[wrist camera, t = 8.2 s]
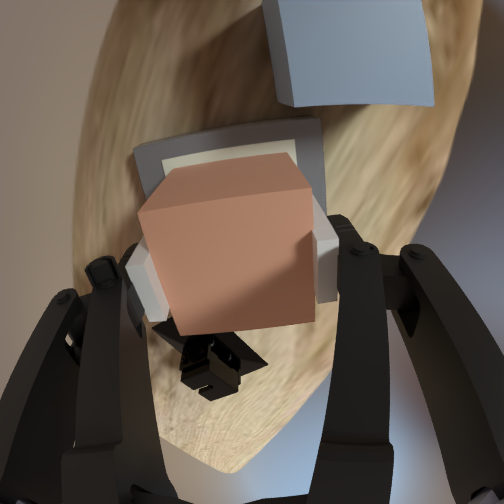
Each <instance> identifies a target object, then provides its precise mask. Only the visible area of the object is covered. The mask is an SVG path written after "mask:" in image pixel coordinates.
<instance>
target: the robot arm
mask: <svg viewBox="0 0 504 504" xmlns="http://www.w3.org/2000/svg"><path fill="white" fill-rule="evenodd" d="M312 198H313V221H314V230H312V242H313V270H314V292H315V295H316V299H317V302H318V304H320V303H326V302H333V301H337V293H338V292H339V294H340V299H339V312H338V323H337V333H336V343H335V351H334V360H333V368H332V375H331V383H330V389H329V396H328V403H327V409H326V415H325V421H324V426H323V431H322V437H321V441H320V446H319V450H318V455H317V459H316V464H315V468H314V473H313V477H312V481H311V486H310V490H309V493H308V494H305V495H297V496H288V497H278V498H265V499H260V500H256V501H253V502H249V503H245V504H389V501H390V494H391V486H392V476H393V464H394V450H393V446H392V444H391V443H390V442H389V417H390V369H389V368H390V367H389V342H388V327H387V315H386V310H391V312H392V314H393V317H394V319H395V322H396V324H397V326H398V329H399V331H400V333H401V336H402V338H403V341H404V343H405V346H406V348H407V351H408V353H409V356H410V358H411V361H412V363H413V366H414V369H415V372H416V374H417V377H418V380H419V383H420V386H421V389H422V391H423V394H424V397H425V400H426V403H427V406H428V409H429V413H430V415H431V419H432V422H433V425H434V429H435V432H436V436H437V439H438V443H439V446H440V450H441V454H442V458H443V462H444V466H445V470H446V474H447V478H448V482H449V485H450V489H451V492H452V495H453V497H454V500H455V502H456V504H504V355H503V354H502V352H501V350H500V348H499V347H498V345H497V343H496V341H495V340H494V338H493V337H492V335H491V334H490V332H489V330H488V328H487V327H486V325H485V324H484V322H483V320H482V319H481V317H480V316H479V314H478V313H477V311H476V310H475V308H474V307H473V305H472V304H471V302H470V301H469V299H468V298H467V296H466V295H465V294H464V292H463V291H462V289H461V288H460V286H459V285H458V284H457V282H456V281H455V280H454V278H453V277H452V275H451V274H450V273H449V272H448V270H447V269H446V268H445V266H444V265H443V264H442V262H441V261H440V260H439V258H438V257H437V256H436V255H435V254H434V252H433V251H432V250H431V249H429V248H428V247H426V246H424V245H421V244H420V245H419V244H408V245H405V246H403V247H402V248H401V251H400V256H396V255H384V254H379V250H378V248H377V247H376V246H375V245H373V244H371V243H368V242H364V241H363V240H362V238H361V237H360V235H359V234H358V232H357V231H356V230H355V228H354V227H353V225H352V224H351V222H350V221H349V220H348V218H346V217H344V216H342V215H340V214H338V215H330V216H326V215H325V214H324V212H323V210H322V209H321V207H320V205H319V204H318V202H317V200H316V199H315V197H314V195H313V194H312ZM85 272H86V274H87V276H88V279H89V281H90V283H91V285H92V287H93V289H92V293H90V294H87V295H84V296H81V297H79V295H78V293H77V291H76V290H75V289H73V288H71V289H70V288H69V289H64V290H62V291H60V292H58V294H57V295H55V296H54V298H53V299H52V300H51V302H50V303H49V305H48V307H47V309H46V310H45V312H44V314H43V315H42V317H41V319H40V320H39V322H38V324H37V326H36V328H35V329H34V331H33V333H32V335H31V337H30V338H29V340H28V342H27V344H26V346H25V348H24V350H23V352H22V354H21V356H20V358H19V360H18V362H17V364H16V366H15V368H14V370H13V372H12V374H11V376H10V379H9V381H8V383H7V385H6V388H5V390H4V392H3V395H2V397H1V400H0V504H62V503H63V504H193V503H190V502H187V501H184V500H181V499H178V496H177V493H176V491H175V489H174V487H173V485H172V483H171V482H170V480H169V478H168V476H167V473H166V469H165V465H164V459H163V455H162V450H161V445H160V440H159V433H158V428H157V422H156V415H155V409H154V402H153V395H152V387H151V379H150V370H149V361H148V350H147V338H146V327H145V325H144V323H143V321H142V317H143V315H144V312H145V314H146V316H147V318H148V320H149V322H157V321H166V320H167V316H168V313H169V309H170V307H169V304H168V302H167V299H166V296H165V294H164V291H163V289H162V286H161V283H160V281H159V278H158V275H157V272H156V270H155V267H154V264H153V261H152V258H151V255H150V253H149V250H148V246H147V243H146V240H145V237H144V235H143V237H142V239H141V240H140V242H139V243H135V244H133V245H132V246H131V247H129V248H128V249H127V250H126V252H125V253H124V255H123V257H122V258H121V260H120V262H119V263H118V265H117V263H116V260H115V258H114V257H113V256H103V257H100V258H98V259H95V260H94V261H92V262H91V263H90V264H88V265H87V266H86V268H85ZM67 334H68V335H69V337H70V338H71V340H72V341H73V342H72V345H71V346H69V345H68V343H67V342H66V340H65V338H66V336H67ZM74 441H75V446H74ZM73 446H74V448H73Z"/></svg>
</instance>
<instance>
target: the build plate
mask: <svg viewBox="0 0 504 504" xmlns="http://www.w3.org/2000/svg"><path fill="white" fill-rule="evenodd" d="M152 330H154V331H155V332H156V333H157V334H158V335H159V336H161V337H162V338H163V339H164V340H165V341H167V342H168V343H169V344H170V345H172V346H173V347H174V348H175V349H176V350H178V351H179V352H180V353H181V354H182V357H181V363H180V368H179V370H180V371H182V375H181V382H182V383H184V384H185V385H187V386H188V387H189V388H191V389H192V390H196V389H198V388H201V387H204V386H207V385H208V386H207V387H204V388H201V389H199V393H198V394H200V395H201V396H203V397H205V398H206V399H208V400H209V401H213V400H216V399H219V398H222V397H225V396H228V395H231V394H234V393H237V392H238V385H240V384H241V376H243V375H245V374H248V373H250V372H253V371H255V370H258V369H260V368H262V367H265V366H267V365H268V363H267V362H265V361H264V360H263V359H262V358H261V357H260V356H259V355H258V354H257V353H256V352H254V351H253V350H252V349H251V348H250V347H249V346H248V345H247V344H246V343H245V342H244V341H243V340H242V339H240V338H239V337H238V336H237V335H236V334H235V333H234V332H223V333H211V334H198V335H184V336H180V334H179V331H178V329H177V326H176V324H175V321H174V319H173V316H172V317H171V318H169V319H167V320H166V321H163V322H161V323H159V324H157V325H156V326H154V327H152Z"/></svg>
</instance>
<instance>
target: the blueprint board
mask: <svg viewBox="0 0 504 504" xmlns="http://www.w3.org/2000/svg"><path fill="white" fill-rule="evenodd" d="M133 152H134V156H135V160H136V164H137V168H138V172H139V176H140V180H141V183H142V187H143V191H144V194H145V198H146V201H147V200H148V198H149V197H150V196H151V195H152V193H153V192H154V191H155V190H156V188H157V187H158V186H159V185H160V184H161V182H162V181H163V180H164V179H165V178H166V176H167V175H168V174H169V173H170V172H171V170H172V169H174V168H179V167H184V166H190V165H195V164H201V163H207V162H213V161H220V160H226V159H233V158H240V157H248V156H256V155H264V154H272V153H282V152H287V153H288V154H289V156H290V157H291V158H292V160H293V161H294V163H295V164H296V166H297V167H298V168H299V170H300V171H301V173H302V174H303V176H304V177H305V178H306V180H307V181H308V183H309V184H310V186H311V187H312V194H313V195H314V197H315V199H316V200H317V202H318V204H319V205H320V207H321V209H322V210H323V212H324V214H325V215H326V216H327V209H326V185H325V167H324V152H323V139H322V127H321V118H319V117H316V116H307V117H295V118H284V119H275V120H266V121H258V122H250V123H243V124H236V125H230V126H224V127H218V128H212V129H206V130H201V131H196V132H191V133H186V134H181V135H176V136H172V137H167V138H163V139H159V140H155V141H151V142H147V143H143V144H140V145H138V146H137V147H135V148H133Z"/></svg>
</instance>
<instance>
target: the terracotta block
mask: <svg viewBox="0 0 504 504" xmlns="http://www.w3.org/2000/svg"><path fill="white" fill-rule="evenodd" d="M137 214H138V218H139V221H140V224H141V228H142V231H143V234H144V237H145V240H146V243H147V246H148V250H149V253H150V255H151V258H152V261H153V264H154V267H155V270H156V272H157V275H158V278H159V281H160V283H161V286H162V289H163V291H164V294H165V296H166V299H167V302H168V304H169V307H170V311H171V314H172V316H173V319H174V321H175V324H176V326H177V329H178V331H179V334H180V336H184V335H198V334H211V333H223V332H233V331H243V330H253V329H262V328H270V327H278V326H286V325H293V324H301V323H308V322H314V321H315V292H314V270H313V242H312V230H314V221H313V198H312V187H311V186H310V184H309V183H308V181H307V180H306V178H305V177H304V176H303V174H302V173H301V171H300V170H299V168H298V167H297V166H296V164H295V163H294V161H293V160H292V158H291V157H290V156H289V154H288V153H287V152H282V153H272V154H264V155H256V156H248V157H240V158H233V159H226V160H220V161H213V162H207V163H201V164H195V165H190V166H184V167H179V168H174V169H172V170H171V172H170V173H169V174H168V175H167V176H166V178H165V179H164V180H163V181H162V182H161V184H160V185H159V186H158V187H157V188H156V190H155V191H154V192H153V193H152V195H151V196H150V197H149V198H148V200H147V201H146V202H145V203H144V205H143V206H142V207H141V209H140V210H139V211H138V212H137Z"/></svg>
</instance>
